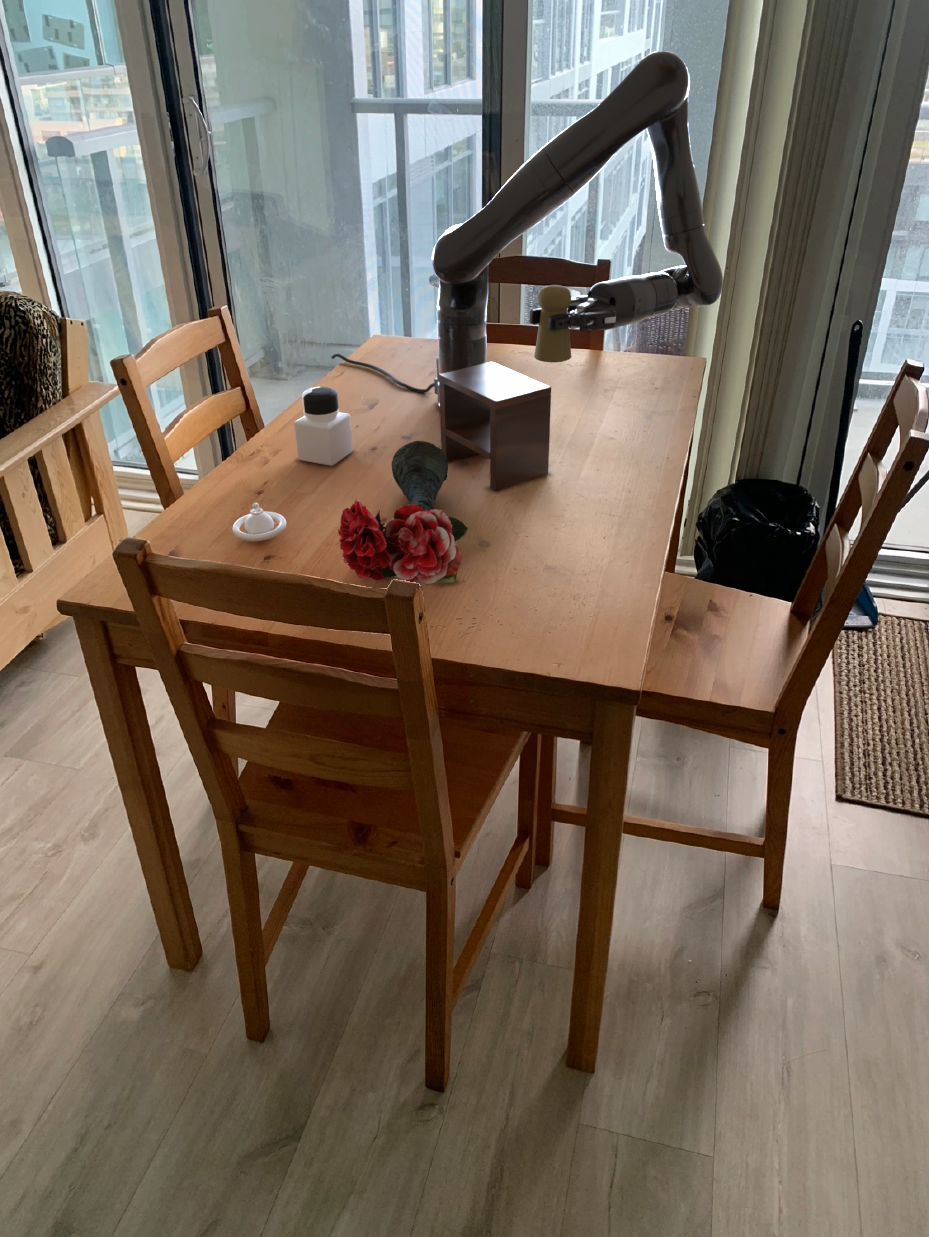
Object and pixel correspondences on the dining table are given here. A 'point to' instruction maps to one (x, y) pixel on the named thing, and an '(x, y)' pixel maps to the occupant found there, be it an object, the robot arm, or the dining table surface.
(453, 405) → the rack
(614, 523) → the dining table surface
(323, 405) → the medicine bottle
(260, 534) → the ring around a ball
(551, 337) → the cork
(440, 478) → the carnation
